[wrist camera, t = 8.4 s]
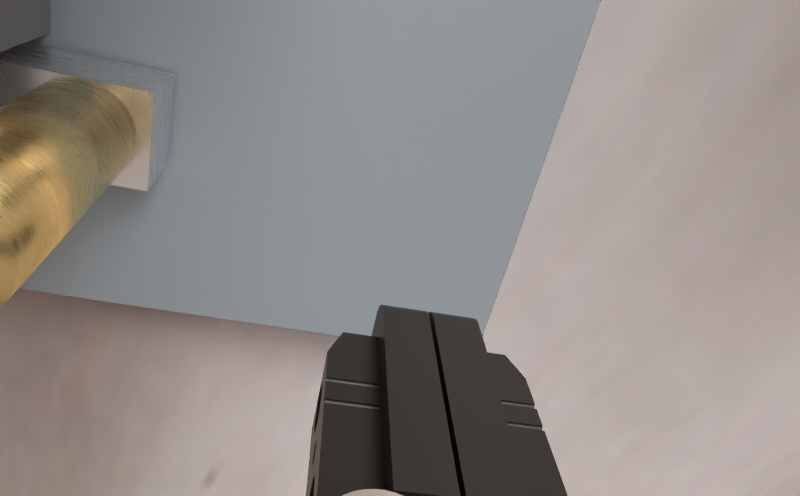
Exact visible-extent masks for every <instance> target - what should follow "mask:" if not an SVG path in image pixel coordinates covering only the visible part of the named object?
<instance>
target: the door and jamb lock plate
mask: <svg viewBox="0 0 800 496" xmlns="http://www.w3.org/2000/svg"><path fill="white" fill-rule="evenodd" d="M600 1H601V0H0V52H2V51H5V50H7V49H10V48H12V47H15V46H17V45H20V44H23V43H25V42H30V43H35V44H39V45H44V46H49V47H54V48H58V49H63V50H68V51H73V52H77V53H82V54H87V55H92V56H96V57H101V58H106V59H111V60H115V61H120V62H125V63H130V64H134V65H139V66H144V67H149V68H153V69H158V70H163V71H168V72H172V73H175V81H174V94H173V108H172V121H171V134H170V147H169V160H168V164H167V165H166V167H165V168H164V169H163V171H162V172H161V173H160V175H159V176H158V178H157V179H156V180H155V182H154V183H153V184H152V186H151V187H150V189H149V190H148V191H142V190H137V189H131V188H126V187H120V186H114V185H110V186H109V187H108V188H107V189H106V190H105V191H104V192H103V193H102V195H101V196H100V197H99V198H98V199H97V200H96V201H95V203H94V204H93V205H92V206H91V207H90V208H89V209H88V210H87V212H86V213H85V214H84V215H83V216H82V217H81V218H80V219H79V221H78V222H77V223H76V224H75V225H74V226H73V227H72V229H71V230H70V231H69V232H68V233H67V234H66V235H65V236H64V238H63V239H62V240H61V241H60V242H59V243H58V244H57V246H56V247H55V248H54V249H53V250H52V251H51V252H50V253H49V255H48V256H47V257H46V258H45V259H44V260H43V261H42V263H41V264H40V265H39V266H38V267H37V268H36V269H35V270H34V272H33V273H32V274H31V275H30V276H29V277H28V278H27V280H26V281H25V282H24V283H23V284H22V285H21V286H20V287H19V289H23V290H30V291H37V292H43V293H50V294H57V295H64V296H70V297H77V298H84V299H91V300H98V301H104V302H111V303H118V304H125V305H131V306H138V307H145V308H152V309H159V310H165V311H172V312H179V313H186V314H192V315H199V316H206V317H213V318H219V319H226V320H233V321H240V322H247V323H253V324H260V325H267V326H274V327H280V328H287V329H294V330H301V331H308V332H314V333H321V334H328V335H335V336H340V335H341V334H342V333H343V332H346V333H353V334H360V335H367V336H372V331H373V327H374V323H375V319H376V315H377V311H378V309H379V306H380V305H388V306H395V307H401V308H408V309H414V310H421V311H427V312H428V313H429V312H435V313H442V314H449V315H455V316H462V317H468V318H475V319H476V320H477V321H478V324H479V327H480V331H481V334H482V336H483V334H484V331H485V328H486V325H487V322H488V319H489V317H490V314H491V311H492V308H493V305H494V302H495V299H496V297H497V294H498V291H499V288H500V285H501V282H502V280H503V277H504V274H505V271H506V268H507V265H508V263H509V260H510V257H511V254H512V251H513V248H514V246H515V243H516V240H517V237H518V234H519V231H520V229H521V226H522V223H523V220H524V217H525V214H526V212H527V209H528V206H529V203H530V200H531V197H532V194H533V192H534V189H535V186H536V183H537V180H538V177H539V175H540V172H541V169H542V166H543V163H544V160H545V158H546V155H547V152H548V149H549V146H550V143H551V141H552V138H553V135H554V132H555V129H556V126H557V124H558V121H559V118H560V115H561V112H562V109H563V106H564V104H565V101H566V98H567V95H568V92H569V89H570V87H571V84H572V81H573V78H574V75H575V72H576V70H577V67H578V64H579V61H580V58H581V55H582V53H583V50H584V47H585V44H586V41H587V38H588V36H589V33H590V30H591V27H592V24H593V21H594V19H595V16H596V13H597V10H598V7H599V4H600Z"/></svg>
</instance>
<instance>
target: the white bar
mask: <svg viewBox="0 0 800 496" xmlns="http://www.w3.org/2000/svg"><path fill="white" fill-rule="evenodd" d="M174 81H175V73H172V72H168V71H163V70H158V69H153V68H149V67H144V66H139V65H134V64H130V63H125V62H120V61H115V60H111V59H106V58H101V57H96V56H92V55H87V54H82V53H77V52H73V51H68V50H63V49H58V48H54V47H49V46H44V45H39V44H35V43H30V42H25V43H23V44H20V45H17V46H15V47H12V48H10V49H7V50H5V51H2V52H0V309H1V308H2V307H3V305H4V304H5V303H6V302H7V301H8V300H9V299H10V298H11V296H12V295H13V294H14V293H15V292H16V291H17V290H18V289H19V287H20V286H21V285H22V284H23V283H24V282H25V281H26V280H27V278H28V277H29V276H30V275H31V274H32V273H33V272H34V270H35V269H36V268H37V267H38V266H39V265H40V264H41V263H42V261H43V260H44V259H45V258H46V257H47V256H48V255H49V253H50V252H51V251H52V250H53V249H54V248H55V247H56V246H57V244H58V243H59V242H60V241H61V240H62V239H63V238H64V236H65V235H66V234H67V233H68V232H69V231H70V230H71V229H72V227H73V226H74V225H75V224H76V223H77V222H78V221H79V219H80V218H81V217H82V216H83V215H84V214H85V213H86V212H87V210H88V209H89V208H90V207H91V206H92V205H93V204H94V203H95V201H96V200H97V199H98V198H99V197H100V196H101V195H102V193H103V192H104V191H105V190H106V189H107V188H108V187H109V186H110V185H114V186H120V187H126V188H131V189H137V190H142V191H148V190H149V189H150V187H151V186H152V184H153V183H154V182H155V180H156V179H157V178H158V176H159V175H160V173H161V172H162V171H163V169H164V168H165V167H166V165H167V164H168V160H169V147H170V134H171V121H172V108H173V94H174Z"/></svg>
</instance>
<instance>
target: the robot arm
mask: <svg viewBox="0 0 800 496" xmlns="http://www.w3.org/2000/svg"><path fill="white" fill-rule="evenodd" d="M534 405H535V404H534V401H533V398H532V395H531V393H530V390H529V387H528V384H527V381H526V379H525V377H524V376H523V375H522V374H521V373H520V372H519V371H518V369H517V368H516V367H515V366H514V365H513V364H512V363H511V361H510V360H509V359H508V358H507V357H506V356H505V355H501V354H494V353H487V351H486V348H485V344H484V341H483V338H482V334H481V331H480V327H479V324H478V321H477V320H476V319H475V318H468V317H462V316H455V315H449V314H442V313H435V312H429V313H428V312H427V311H421V310H414V309H408V308H401V307H395V306H388V305H380V306H379V309H378V311H377V315H376V319H375V323H374V327H373V331H372V336H367V335H360V334H353V333H346V332H343V333H342V334H341V335H340V337H339V338H338V339H337V340H336V342H335V343H334V344H333V345H332V347H331V348H330V349H329V350H328V352H327V357H326V362H325V367H324V372H323V377H322V382H321V387H320V392H319V397H318V402H317V407H316V412H315V417H314V422H313V427H312V436H311V447H310V460H309V469H308V479H307V480H308V482H307V490H306V496H567V493H566V490H565V487H564V484H563V482H562V479H561V476H560V473H559V471H558V468H557V465H556V462H555V459H554V457H553V454H552V451H551V448H550V445H549V443H548V440H547V437H546V434H545V432H544V431H542V423H541V420H540V418H539V415H538V412H537V409H534Z"/></svg>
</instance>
